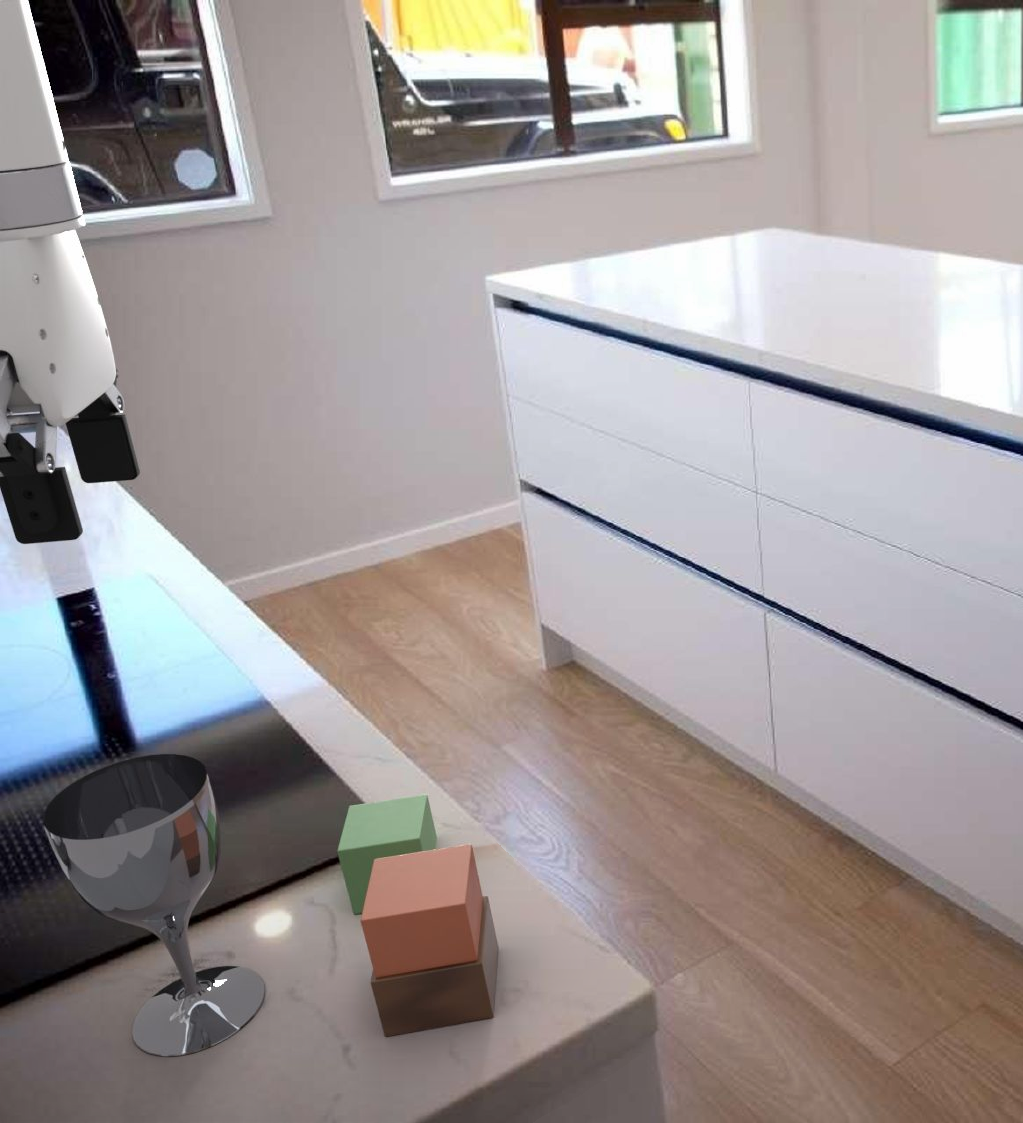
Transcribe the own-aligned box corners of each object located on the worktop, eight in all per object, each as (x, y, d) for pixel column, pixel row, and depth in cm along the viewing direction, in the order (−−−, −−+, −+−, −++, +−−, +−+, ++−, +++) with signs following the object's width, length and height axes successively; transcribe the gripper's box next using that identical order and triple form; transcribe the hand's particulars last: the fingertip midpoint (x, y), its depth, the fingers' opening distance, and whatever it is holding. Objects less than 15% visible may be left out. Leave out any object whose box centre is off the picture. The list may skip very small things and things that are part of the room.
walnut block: (384, 1037, 71) (369, 982, 70) (397, 964, 77) (383, 912, 75) (493, 1017, 72) (481, 963, 71) (498, 947, 78) (487, 894, 76)
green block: (353, 915, 81) (336, 851, 79) (364, 867, 86) (349, 805, 84) (434, 902, 82) (419, 838, 80) (441, 855, 87) (427, 793, 84)
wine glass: (301, 988, 75) (238, 775, 69) (179, 1082, 69) (98, 857, 63) (217, 946, 79) (151, 740, 73) (94, 1031, 73) (10, 814, 67)
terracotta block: (375, 978, 70) (360, 920, 68) (387, 914, 75) (373, 858, 73) (477, 960, 71) (465, 903, 69) (483, 898, 76) (471, 843, 74)
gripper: (-11, 187, 74) (68, 465, 81) (-171, 234, 58) (-56, 574, 65) (127, 180, 75) (194, 455, 82) (7, 225, 60) (101, 560, 66)
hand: (83, 508), depth 74 cm, fingers open, 9 cm apart
